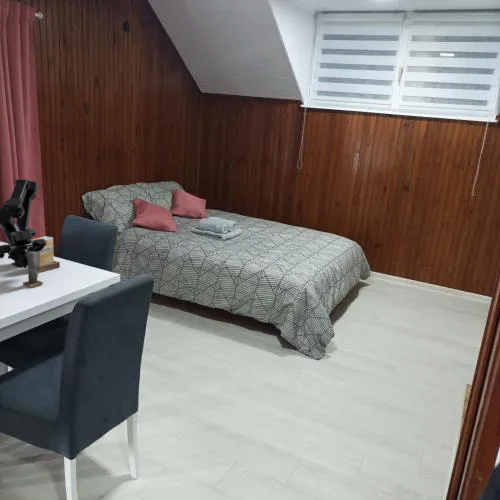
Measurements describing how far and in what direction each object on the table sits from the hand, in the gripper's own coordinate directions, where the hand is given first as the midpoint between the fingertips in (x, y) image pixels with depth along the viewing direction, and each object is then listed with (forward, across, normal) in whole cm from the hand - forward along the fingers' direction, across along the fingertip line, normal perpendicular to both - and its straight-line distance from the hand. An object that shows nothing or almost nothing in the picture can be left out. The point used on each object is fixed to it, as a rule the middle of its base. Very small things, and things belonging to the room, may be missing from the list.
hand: (29, 266), depth 181 cm
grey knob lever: (+2, +8, +8) cm, 12 cm away
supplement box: (-5, +14, +15) cm, 21 cm away
